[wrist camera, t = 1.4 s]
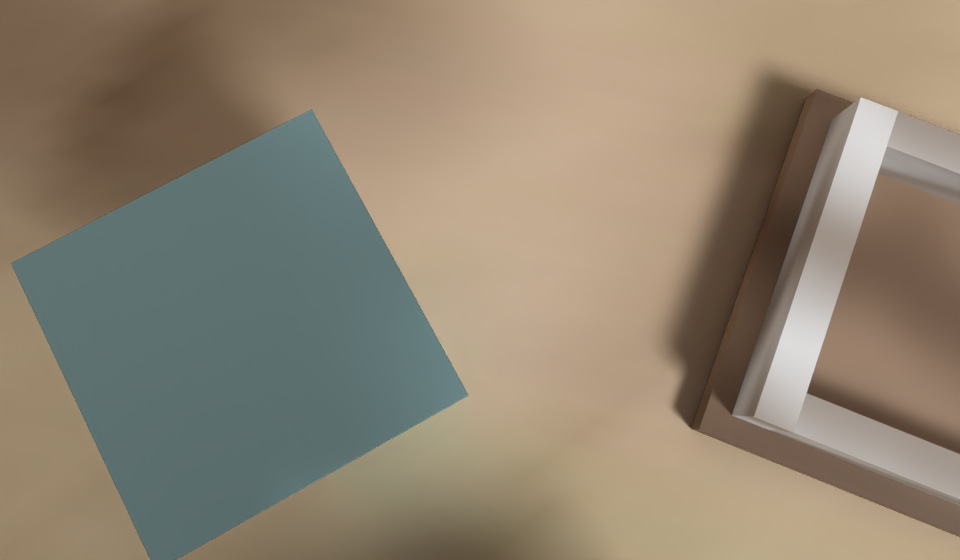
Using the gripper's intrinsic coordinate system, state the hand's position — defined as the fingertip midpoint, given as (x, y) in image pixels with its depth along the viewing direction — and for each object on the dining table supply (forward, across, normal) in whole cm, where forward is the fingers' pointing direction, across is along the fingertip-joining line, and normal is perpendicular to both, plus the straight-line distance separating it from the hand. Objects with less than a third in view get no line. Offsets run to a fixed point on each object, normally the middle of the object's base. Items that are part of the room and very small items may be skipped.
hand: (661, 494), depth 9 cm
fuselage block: (+14, +5, +5) cm, 16 cm away
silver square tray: (+12, -13, +8) cm, 19 cm away
